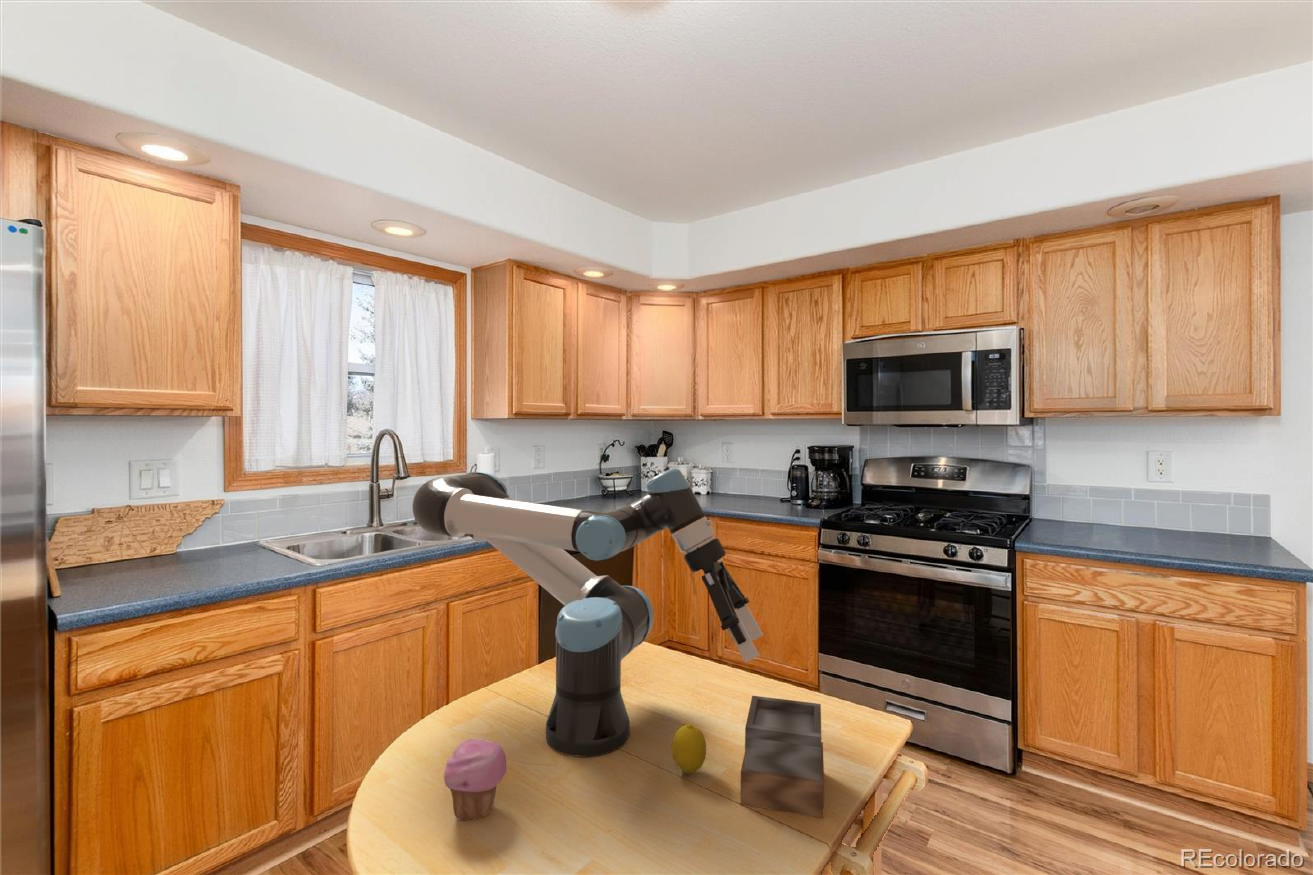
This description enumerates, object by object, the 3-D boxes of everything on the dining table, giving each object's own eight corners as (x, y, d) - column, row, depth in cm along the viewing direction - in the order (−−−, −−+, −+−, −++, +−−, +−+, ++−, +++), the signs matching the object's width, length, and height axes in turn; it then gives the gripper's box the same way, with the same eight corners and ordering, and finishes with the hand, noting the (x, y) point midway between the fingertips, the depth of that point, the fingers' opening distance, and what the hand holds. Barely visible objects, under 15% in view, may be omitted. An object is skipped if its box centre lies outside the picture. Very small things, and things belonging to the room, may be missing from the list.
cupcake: (452, 794, 94) (453, 729, 94) (510, 792, 95) (511, 727, 95) (436, 832, 85) (436, 761, 85) (500, 830, 86) (500, 759, 86)
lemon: (695, 787, 97) (696, 736, 97) (665, 775, 100) (666, 726, 100) (711, 770, 102) (712, 722, 101) (682, 760, 105) (683, 713, 104)
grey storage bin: (740, 804, 93) (741, 728, 93) (748, 761, 104) (749, 694, 104) (823, 817, 90) (825, 739, 90) (822, 772, 102) (823, 702, 101)
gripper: (707, 544, 106) (769, 659, 103) (724, 529, 130) (774, 622, 127) (669, 564, 107) (730, 678, 104) (693, 546, 131) (742, 638, 128)
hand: (754, 648), depth 115 cm, fingers open, 13 cm apart
